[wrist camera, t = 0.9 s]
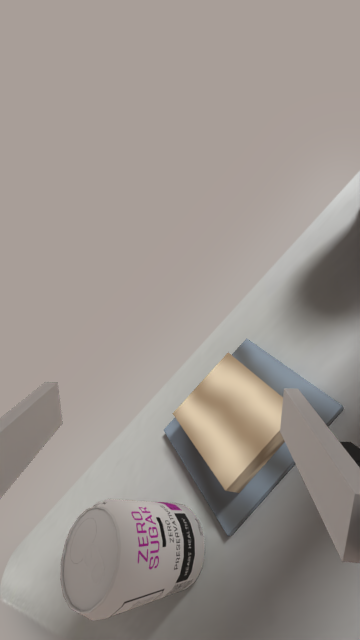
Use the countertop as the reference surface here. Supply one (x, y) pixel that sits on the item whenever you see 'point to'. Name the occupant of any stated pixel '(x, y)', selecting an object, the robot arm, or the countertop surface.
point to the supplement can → (129, 556)
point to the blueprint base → (277, 465)
